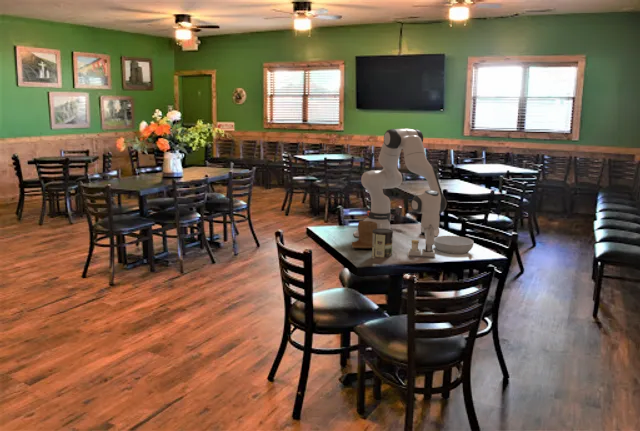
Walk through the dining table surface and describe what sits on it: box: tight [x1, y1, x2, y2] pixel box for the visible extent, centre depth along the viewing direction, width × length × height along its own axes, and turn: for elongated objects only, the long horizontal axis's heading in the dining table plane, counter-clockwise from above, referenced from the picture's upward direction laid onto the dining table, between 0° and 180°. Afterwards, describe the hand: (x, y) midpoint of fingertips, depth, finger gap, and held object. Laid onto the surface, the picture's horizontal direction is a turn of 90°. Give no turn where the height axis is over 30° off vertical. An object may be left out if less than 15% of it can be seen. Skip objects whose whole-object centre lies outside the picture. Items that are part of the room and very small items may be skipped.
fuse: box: [411, 239, 420, 251], centre depth 286 cm, size 4×4×8 cm
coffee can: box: [371, 228, 394, 259], centre depth 285 cm, size 10×10×14 cm
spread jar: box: [420, 225, 440, 237], centre depth 338 cm, size 12×11×12 cm
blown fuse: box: [424, 243, 433, 252], centre depth 285 cm, size 4×4×8 cm
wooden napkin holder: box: [351, 220, 377, 249], centre depth 304 cm, size 15×12×15 cm
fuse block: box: [407, 247, 437, 260], centre depth 287 cm, size 14×10×4 cm
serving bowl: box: [433, 235, 475, 255], centre depth 299 cm, size 21×21×7 cm
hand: (428, 249), depth 286 cm, fingers closed on blown fuse, 3 cm apart
